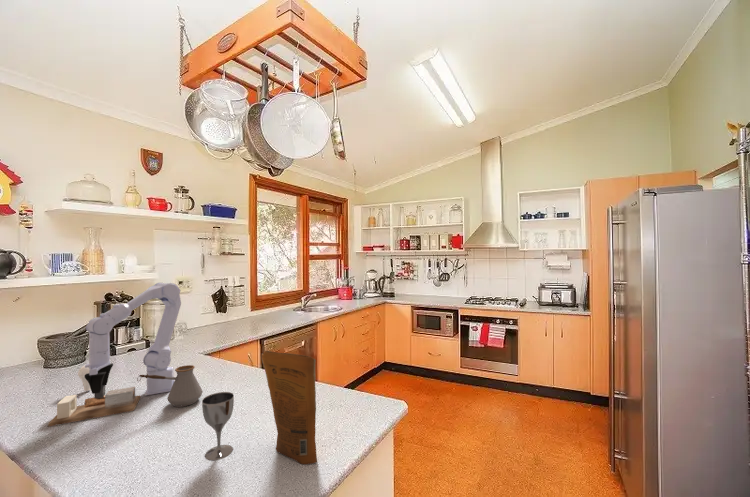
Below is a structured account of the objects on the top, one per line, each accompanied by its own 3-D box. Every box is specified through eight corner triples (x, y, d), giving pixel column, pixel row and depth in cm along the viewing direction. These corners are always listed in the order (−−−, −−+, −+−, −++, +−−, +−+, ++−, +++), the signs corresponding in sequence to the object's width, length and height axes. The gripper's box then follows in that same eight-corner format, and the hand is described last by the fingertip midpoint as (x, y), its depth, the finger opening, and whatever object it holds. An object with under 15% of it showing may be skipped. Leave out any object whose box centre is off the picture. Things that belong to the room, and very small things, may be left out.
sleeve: (135, 399, 126) (135, 386, 126) (132, 404, 122) (132, 391, 122) (108, 403, 122) (108, 390, 122) (105, 409, 118) (105, 395, 118)
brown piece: (133, 397, 125) (132, 380, 125) (131, 400, 122) (131, 383, 122) (87, 405, 119) (87, 387, 119) (84, 409, 116) (84, 390, 116)
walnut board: (140, 397, 130) (140, 395, 130) (133, 410, 119) (133, 407, 119) (63, 411, 119) (63, 408, 119) (48, 426, 109) (48, 423, 109)
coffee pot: (192, 393, 132) (191, 355, 133) (208, 399, 126) (208, 360, 127) (130, 416, 114) (130, 372, 115) (146, 424, 108) (145, 378, 109)
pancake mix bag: (308, 474, 82) (305, 360, 82) (260, 449, 93) (259, 349, 93) (327, 460, 87) (325, 353, 88) (280, 438, 98) (278, 343, 99)
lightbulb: (86, 394, 134) (86, 367, 134) (74, 393, 135) (73, 366, 135) (101, 388, 140) (101, 362, 140) (89, 387, 141) (89, 361, 141)
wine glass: (210, 445, 96) (209, 392, 96) (238, 443, 96) (237, 391, 97) (197, 462, 88) (196, 405, 88) (228, 460, 88) (227, 403, 89)
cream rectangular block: (76, 408, 119) (76, 394, 119) (69, 416, 113) (69, 402, 113) (65, 410, 118) (65, 396, 118) (57, 419, 112) (57, 404, 112)
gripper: (92, 347, 124) (92, 384, 124) (77, 358, 111) (78, 399, 111) (115, 345, 128) (115, 380, 127) (104, 355, 114) (104, 394, 114)
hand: (99, 389), depth 119 cm, fingers open, 7 cm apart
